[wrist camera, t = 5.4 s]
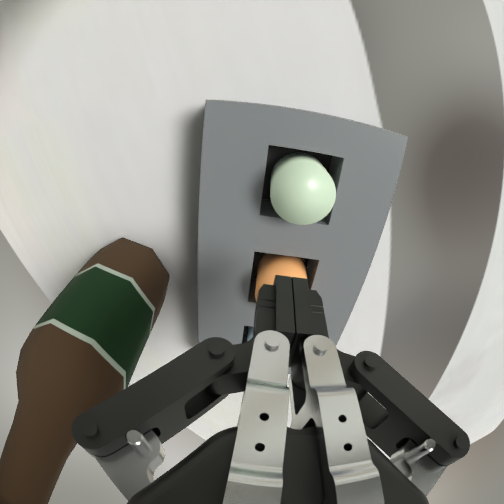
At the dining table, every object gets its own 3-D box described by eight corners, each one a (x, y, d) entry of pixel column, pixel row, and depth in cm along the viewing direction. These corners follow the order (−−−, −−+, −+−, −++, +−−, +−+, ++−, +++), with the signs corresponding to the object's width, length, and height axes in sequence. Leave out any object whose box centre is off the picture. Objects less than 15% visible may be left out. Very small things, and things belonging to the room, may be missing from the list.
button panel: (216, 99, 16) (205, 99, 14) (389, 130, 16) (408, 137, 14) (205, 340, 28) (199, 362, 25) (318, 353, 28) (320, 375, 25)
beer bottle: (179, 307, 26) (101, 561, 5) (112, 301, 26) (13, 506, 6) (163, 234, 22) (11, 548, 1) (89, 235, 22) (-68, 458, 2)
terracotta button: (260, 246, 20) (258, 270, 17) (310, 252, 20) (315, 277, 17) (254, 286, 22) (252, 312, 19) (299, 291, 22) (302, 317, 19)
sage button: (274, 148, 16) (275, 157, 14) (331, 158, 16) (342, 169, 14) (267, 201, 18) (266, 220, 16) (320, 209, 18) (328, 229, 16)
